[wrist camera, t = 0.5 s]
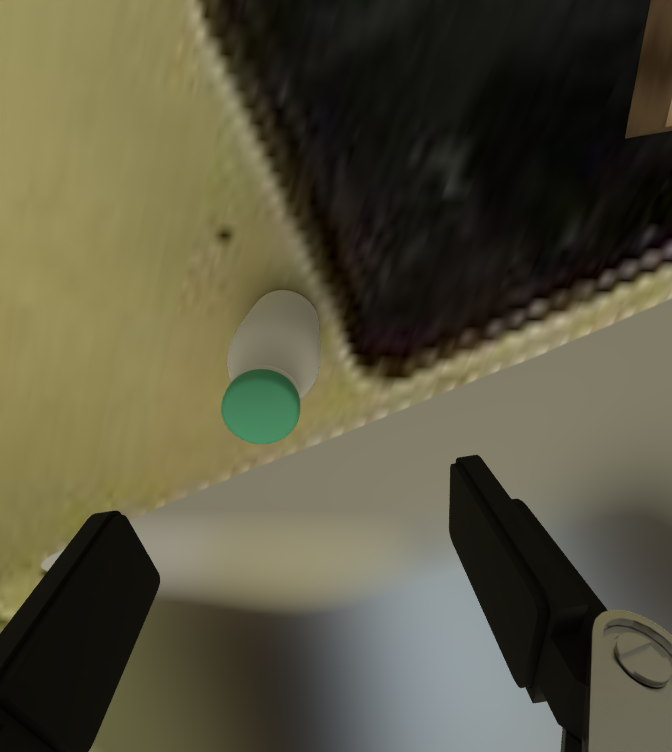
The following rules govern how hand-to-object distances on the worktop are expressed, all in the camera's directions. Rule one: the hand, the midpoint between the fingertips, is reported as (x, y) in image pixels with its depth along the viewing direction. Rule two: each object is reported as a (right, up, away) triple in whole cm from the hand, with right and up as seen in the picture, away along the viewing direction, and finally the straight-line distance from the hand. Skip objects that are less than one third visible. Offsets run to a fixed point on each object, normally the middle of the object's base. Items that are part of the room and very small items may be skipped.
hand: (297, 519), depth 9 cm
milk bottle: (-5, +10, +28) cm, 30 cm away
